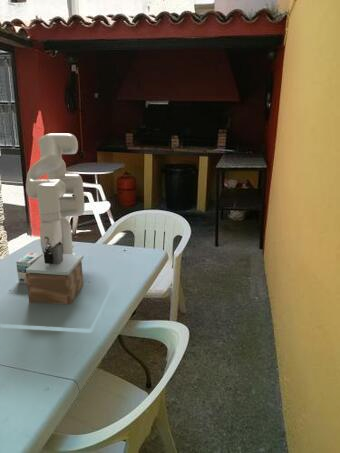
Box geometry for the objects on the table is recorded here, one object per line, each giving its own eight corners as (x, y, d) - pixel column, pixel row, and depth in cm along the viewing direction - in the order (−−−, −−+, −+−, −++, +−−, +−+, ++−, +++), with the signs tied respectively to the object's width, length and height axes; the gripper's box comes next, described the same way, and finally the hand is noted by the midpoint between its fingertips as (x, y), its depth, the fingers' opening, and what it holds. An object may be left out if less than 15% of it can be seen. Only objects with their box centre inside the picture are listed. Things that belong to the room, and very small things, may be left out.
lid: (46, 257, 144) (44, 238, 141) (83, 260, 142) (82, 240, 139) (26, 274, 129) (23, 253, 126) (68, 277, 127) (66, 255, 124)
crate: (46, 284, 149) (43, 256, 145) (83, 286, 148) (81, 258, 144) (29, 304, 134) (25, 273, 130) (70, 306, 133) (67, 275, 129)
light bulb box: (32, 286, 148) (29, 262, 144) (18, 284, 149) (15, 261, 145) (46, 275, 158) (43, 253, 154) (32, 273, 159) (29, 251, 155)
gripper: (49, 209, 139) (53, 249, 144) (29, 222, 122) (35, 267, 128) (68, 210, 138) (71, 250, 144) (50, 223, 122) (55, 268, 127)
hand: (54, 258), depth 136 cm, fingers open, 9 cm apart
